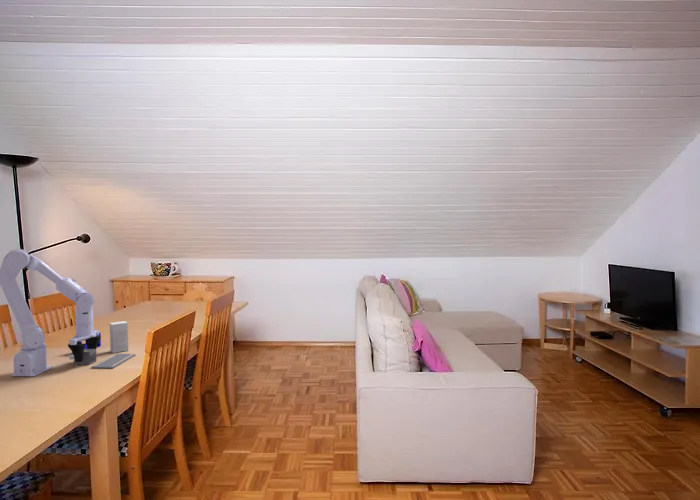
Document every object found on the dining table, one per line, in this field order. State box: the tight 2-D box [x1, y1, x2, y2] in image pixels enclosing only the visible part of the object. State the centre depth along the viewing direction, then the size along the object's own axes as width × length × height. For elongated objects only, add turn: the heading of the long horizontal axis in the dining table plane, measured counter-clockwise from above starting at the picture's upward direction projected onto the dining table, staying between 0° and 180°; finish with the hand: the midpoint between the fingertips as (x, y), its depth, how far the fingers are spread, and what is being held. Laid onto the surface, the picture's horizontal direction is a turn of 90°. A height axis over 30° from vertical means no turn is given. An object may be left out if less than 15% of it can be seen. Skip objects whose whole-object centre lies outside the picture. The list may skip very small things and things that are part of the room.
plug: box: [68, 348, 97, 366], centre depth 161 cm, size 4×8×5 cm, turn 89°
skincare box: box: [109, 320, 129, 354], centre depth 177 cm, size 6×4×12 cm
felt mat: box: [90, 353, 136, 370], centre depth 163 cm, size 16×8×1 cm, turn 179°
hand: (85, 358), depth 161 cm, fingers open, 7 cm apart
